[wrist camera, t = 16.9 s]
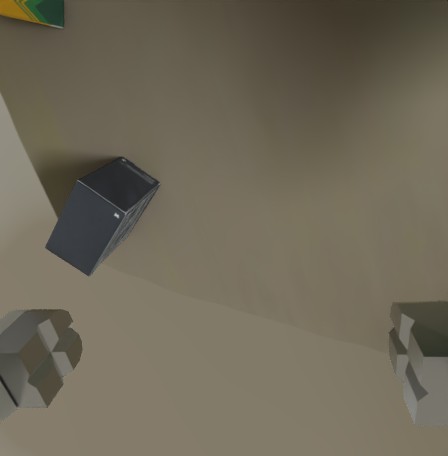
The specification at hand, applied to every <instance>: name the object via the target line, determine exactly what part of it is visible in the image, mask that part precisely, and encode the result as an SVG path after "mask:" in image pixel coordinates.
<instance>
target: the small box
mask: <svg viewBox="0 0 448 456" xmlns="http://www.w3.org/2000/svg"><path fill="white" fill-rule="evenodd" d="M159 186H160V182H158V181H157V180H156V179H154V178H152V177H151V176H149V175H148V174H147V173H145V172H144V171H142V170H141V169H140V168H138V167H137V166H135V165H134V164H133V163H132V162H130V161H128V160H127V159H125V158H124V157H121V158H119V159H117V160H115V161H113V162H111V163H110V164H108V165H106V166H104V167H102V168H100V169H98V170H96V171H94V172H92V173H90V174H88V175H86V176H85V177H83V178H81V179H78V180H77V181H76V183H75V185H74V187H73V189H72V192H71V194H70V196H69V198H68V200H67V202H66V204H65V207H64V209H63V211H62V213H61V215H60V217H59V219H58V222H57V224H56V226H55V228H54V230H53V232H52V234H51V236H50V238H49V240H48V242H47V244H46V247H45V248H46V249H48V250H49V251H51V252H52V253H54V254H55V255H57V256H58V257H60V258H61V259H63V260H64V261H66V262H68V263H69V264H71V265H72V266H74V267H75V268H77V269H78V270H80V271H81V272H83V273H84V274H86V275H87V276H90V275H91V274H92V273H93V272H94V270H96V268H97V267H98V266H99V265H100V264H101V263H102V261H104V259H106V258H107V256H109V254H110V253H111V252H112V251H113V250H114V249H115V248H116V247H117V246H118V245H119V244H120V243H121V242H122V241H124V240H125V239H126V238H127V237H128V235H129V233H130V232H131V230H132V229H133V227H134V226H135V224H136V223H137V221H138V219H139V218H140V216H141V215H142V213H143V212H144V210H145V208H146V207H147V205H148V204H149V202H150V201H151V199H152V197H153V196H154V194H155V192H156V191H157V189H158V187H159Z"/></svg>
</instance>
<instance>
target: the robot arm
mask: <svg viewBox="0 0 448 456" xmlns="http://www.w3.org/2000/svg"><path fill="white" fill-rule="evenodd" d="M390 318H391V321H392V323H393V325H394V328H393V329H392V330H391V331H390V332H389V336H388V347H389V356H390V360H391V364H392V367H393V370H394V373H395V375H396V377H397V378H399V379H400V380H401V381H402V382H403V383H404V387H403V397H404V399H405V402H406V404H407V407H408V410H409V412H410V415H411V417H412V419H413V422H414V425H422V426H436V427H448V300H443V301H425V302H393V303H392V306H391V310H390ZM72 323H73V320H72V318H71V316H70V314H69V312H68V311H65V310H61V309H59V310H58V309H57V310H56V309H55V310H53V309H48V310H47V309H43V310H42V309H32V310H14V311H11V312H8V313H7V314H6V315H5V316H4V317H3V318H1V319H0V423H1V422H2V421H4V420H5V419H6V418H7V417H9V416H10V415H11V414H12V413H13V412H15V411H16V410H17V407H27V408H48V406H49V405H50V403H51V402H52V400H53V399H54V397H55V396H56V395H57V393H58V392H59V390H60V389H61V387H62V386H63V377H64V376H66V375H67V374H68V373H70V372H71V371H72V370H74V368H75V367H76V365H77V364H78V362H79V361H80V357H81V353H82V341H81V339H80V336H79V334H78V333H77V332H76V331H74V330H73V329H72V328H71V326H72Z"/></svg>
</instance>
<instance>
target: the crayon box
mask: <svg viewBox="0 0 448 456" xmlns="http://www.w3.org/2000/svg"><path fill="white" fill-rule="evenodd" d="M0 15H2V16H6V17H11V18H16V19H21V20H25V21H30V22H35V23H39V24H43V25H48V26H52V27H56V28H61V29H63V28H64V0H0Z"/></svg>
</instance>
